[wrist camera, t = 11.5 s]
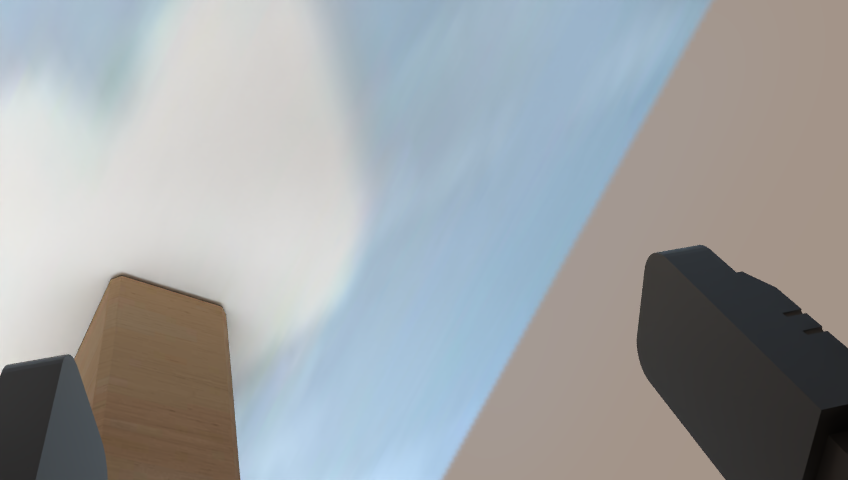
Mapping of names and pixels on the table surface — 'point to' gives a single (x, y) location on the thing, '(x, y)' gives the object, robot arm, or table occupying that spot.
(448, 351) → the table surface
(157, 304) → the decorative block
